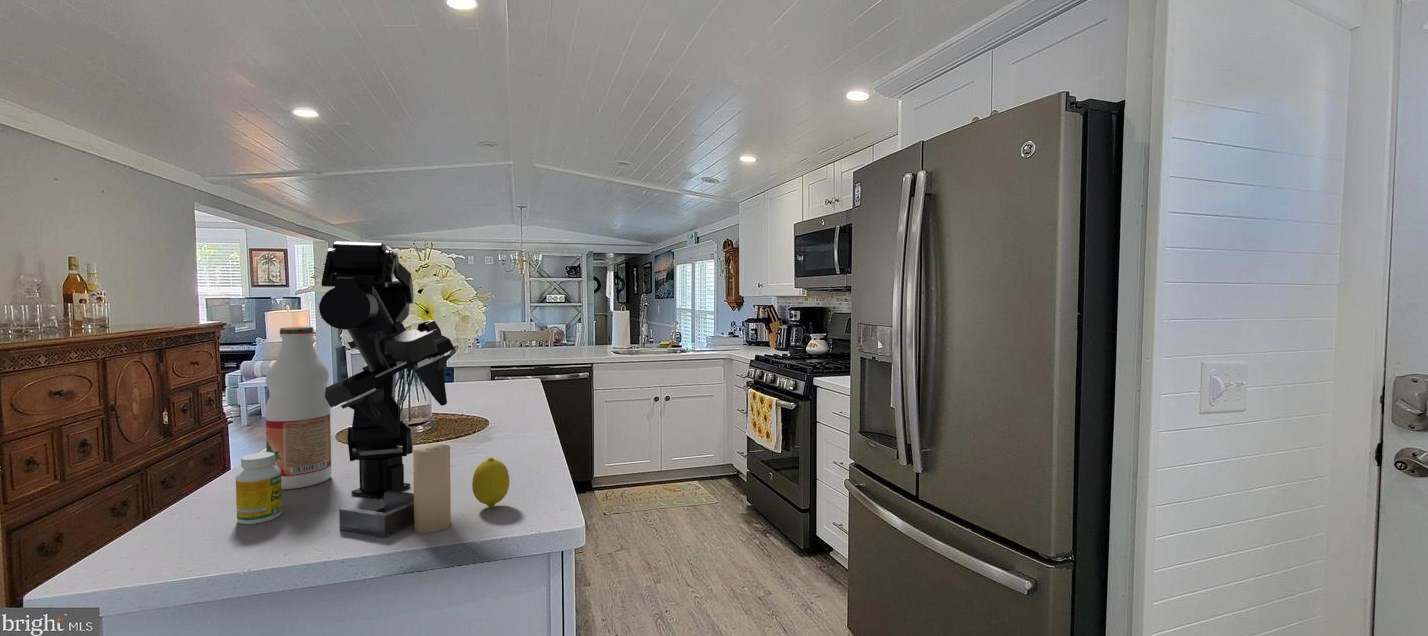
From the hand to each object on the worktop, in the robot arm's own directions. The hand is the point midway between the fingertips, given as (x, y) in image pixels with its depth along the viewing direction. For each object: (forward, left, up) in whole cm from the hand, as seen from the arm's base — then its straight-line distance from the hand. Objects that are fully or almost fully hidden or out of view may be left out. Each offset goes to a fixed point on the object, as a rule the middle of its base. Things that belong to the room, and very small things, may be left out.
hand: (421, 418), depth 86 cm
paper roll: (+4, -2, -15) cm, 16 cm away
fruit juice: (-34, +6, -15) cm, 38 cm away
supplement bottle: (-23, -8, -15) cm, 29 cm away
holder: (-3, -3, -15) cm, 16 cm away
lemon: (+7, +7, -15) cm, 18 cm away
